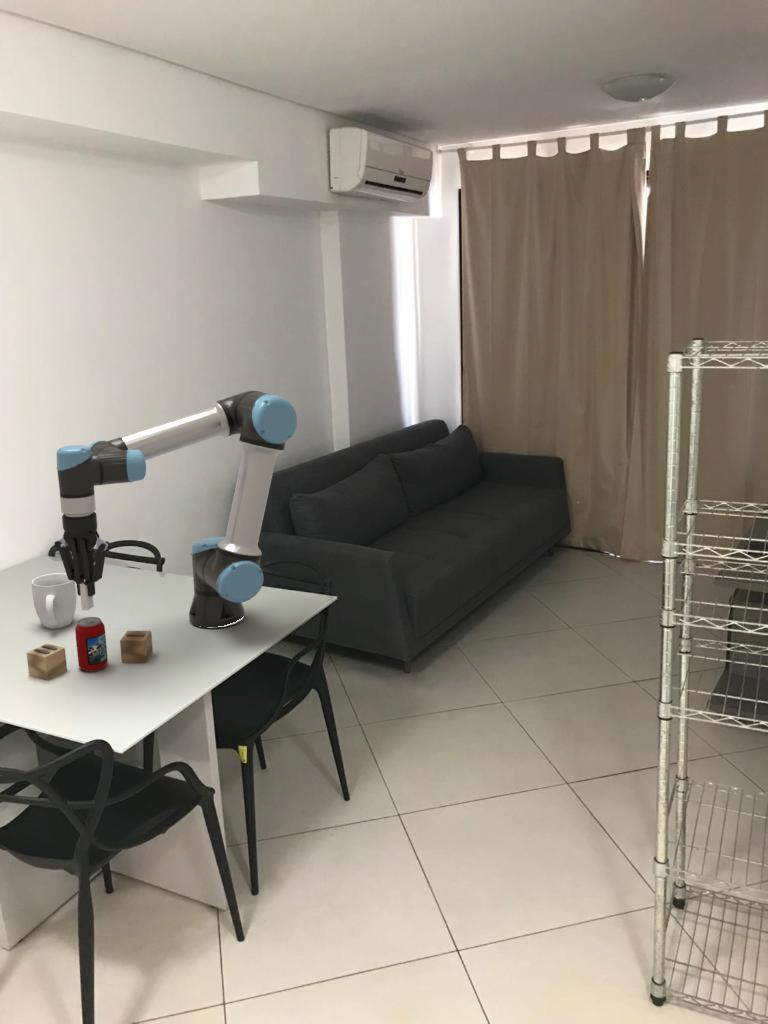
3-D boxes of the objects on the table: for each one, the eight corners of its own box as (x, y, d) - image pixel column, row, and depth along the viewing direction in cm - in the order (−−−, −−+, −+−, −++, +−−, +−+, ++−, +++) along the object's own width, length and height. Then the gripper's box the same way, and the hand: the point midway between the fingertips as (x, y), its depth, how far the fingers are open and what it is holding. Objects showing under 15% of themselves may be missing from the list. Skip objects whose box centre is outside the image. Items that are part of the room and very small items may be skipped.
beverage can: (99, 674, 199) (94, 627, 196) (73, 671, 200) (68, 625, 197) (113, 662, 205) (109, 616, 202) (88, 660, 206) (84, 614, 203)
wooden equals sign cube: (67, 670, 201) (64, 646, 199) (47, 680, 196) (45, 656, 194) (48, 666, 203) (46, 642, 202) (29, 675, 198) (26, 651, 196)
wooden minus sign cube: (152, 652, 211) (151, 629, 209) (146, 663, 205) (144, 639, 203) (129, 652, 211) (127, 629, 209) (121, 663, 205) (119, 639, 203)
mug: (74, 635, 221) (70, 589, 218) (30, 639, 218) (25, 592, 215) (81, 615, 235) (76, 571, 232) (39, 618, 233) (34, 574, 229)
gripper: (113, 510, 195) (120, 604, 201) (62, 507, 197) (71, 600, 203) (96, 518, 188) (105, 616, 194) (44, 515, 190) (54, 612, 196)
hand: (87, 608), depth 199 cm, fingers closed
